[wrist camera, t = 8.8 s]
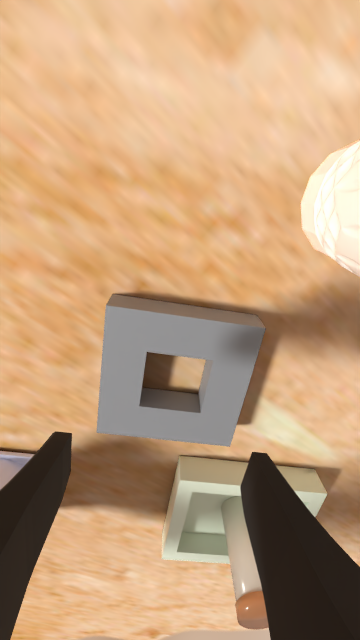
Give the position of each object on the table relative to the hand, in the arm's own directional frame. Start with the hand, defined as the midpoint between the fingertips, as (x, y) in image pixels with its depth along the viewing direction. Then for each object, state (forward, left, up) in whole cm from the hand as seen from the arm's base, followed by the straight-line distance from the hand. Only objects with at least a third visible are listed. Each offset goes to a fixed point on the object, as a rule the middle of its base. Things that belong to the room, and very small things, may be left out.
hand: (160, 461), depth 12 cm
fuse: (+9, -16, -10) cm, 21 cm away
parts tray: (+9, -16, -10) cm, 21 cm away
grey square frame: (+1, -2, -10) cm, 11 cm away
